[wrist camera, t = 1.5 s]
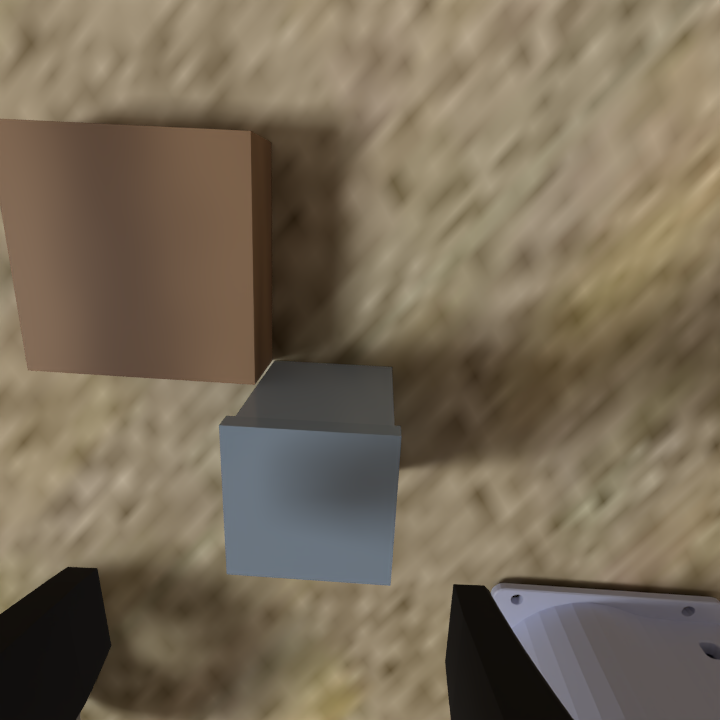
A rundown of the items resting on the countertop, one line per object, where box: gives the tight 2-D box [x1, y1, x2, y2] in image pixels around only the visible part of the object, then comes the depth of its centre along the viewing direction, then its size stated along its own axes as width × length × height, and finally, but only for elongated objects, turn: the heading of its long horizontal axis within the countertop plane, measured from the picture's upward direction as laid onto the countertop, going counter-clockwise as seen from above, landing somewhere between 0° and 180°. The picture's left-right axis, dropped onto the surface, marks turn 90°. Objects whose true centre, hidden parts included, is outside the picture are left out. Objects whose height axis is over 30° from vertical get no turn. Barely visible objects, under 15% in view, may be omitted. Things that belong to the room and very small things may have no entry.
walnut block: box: [0, 119, 273, 385], centre depth 16 cm, size 8×8×3 cm
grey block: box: [219, 361, 401, 585], centre depth 16 cm, size 5×5×6 cm
